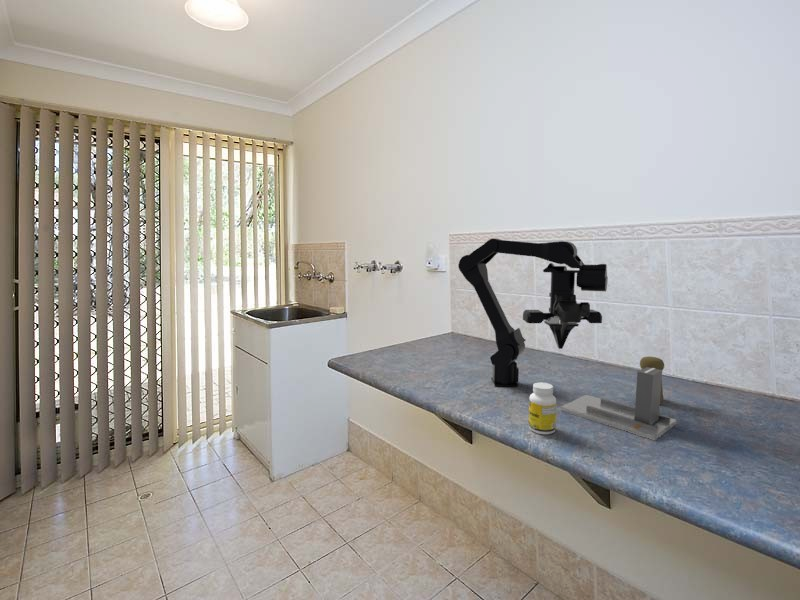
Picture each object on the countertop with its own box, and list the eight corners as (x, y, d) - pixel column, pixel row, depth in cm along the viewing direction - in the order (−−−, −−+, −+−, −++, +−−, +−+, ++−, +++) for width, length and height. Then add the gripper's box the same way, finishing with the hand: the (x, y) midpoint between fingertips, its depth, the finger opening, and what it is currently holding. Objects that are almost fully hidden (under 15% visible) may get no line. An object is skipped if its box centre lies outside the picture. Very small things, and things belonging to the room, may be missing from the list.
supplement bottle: (524, 424, 89) (525, 381, 87) (548, 423, 89) (549, 380, 88) (534, 435, 83) (536, 390, 82) (559, 434, 84) (561, 389, 82)
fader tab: (634, 421, 87) (637, 370, 85) (643, 415, 90) (646, 366, 88) (649, 425, 84) (653, 374, 83) (658, 419, 87) (662, 369, 86)
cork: (636, 393, 106) (639, 353, 105) (663, 398, 103) (667, 356, 101) (634, 401, 101) (637, 358, 100) (663, 406, 98) (666, 362, 97)
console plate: (561, 410, 96) (561, 402, 96) (585, 398, 103) (586, 390, 103) (654, 440, 80) (655, 431, 80) (676, 424, 88) (676, 415, 88)
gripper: (534, 293, 97) (532, 356, 99) (613, 293, 96) (610, 356, 98) (523, 289, 108) (521, 345, 110) (594, 288, 107) (591, 345, 109)
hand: (560, 348), depth 107 cm, fingers closed
